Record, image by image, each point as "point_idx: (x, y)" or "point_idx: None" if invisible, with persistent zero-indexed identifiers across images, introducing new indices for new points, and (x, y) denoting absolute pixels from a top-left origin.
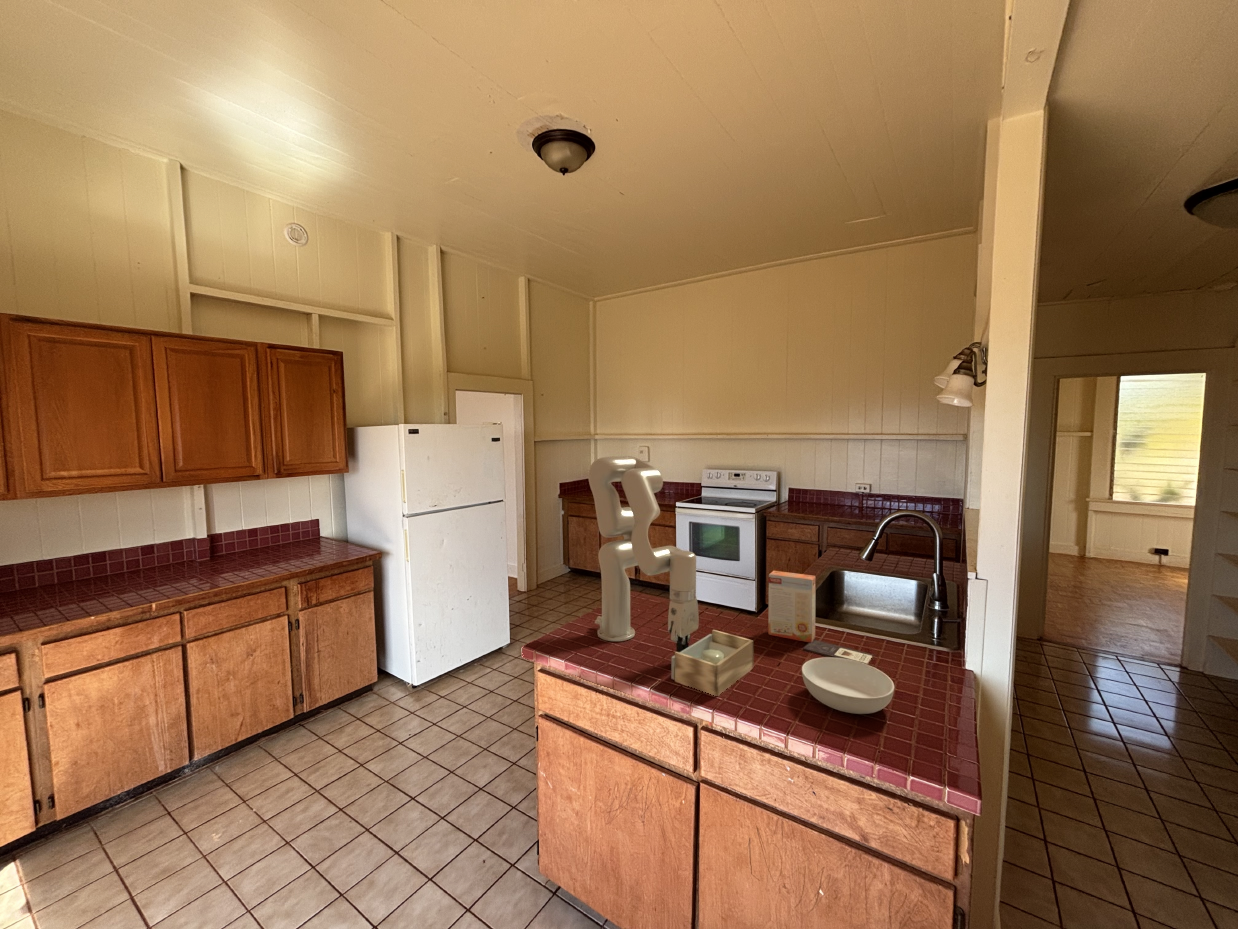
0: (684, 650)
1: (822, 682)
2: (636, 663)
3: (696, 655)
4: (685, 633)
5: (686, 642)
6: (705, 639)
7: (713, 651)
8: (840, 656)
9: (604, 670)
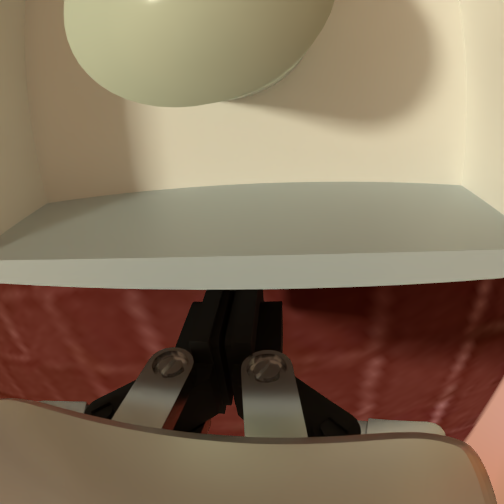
0: (424, 268)
1: None
2: (391, 401)
3: (190, 204)
4: (373, 484)
5: (200, 358)
6: (6, 257)
7: (116, 17)
8: None
9: (477, 413)
